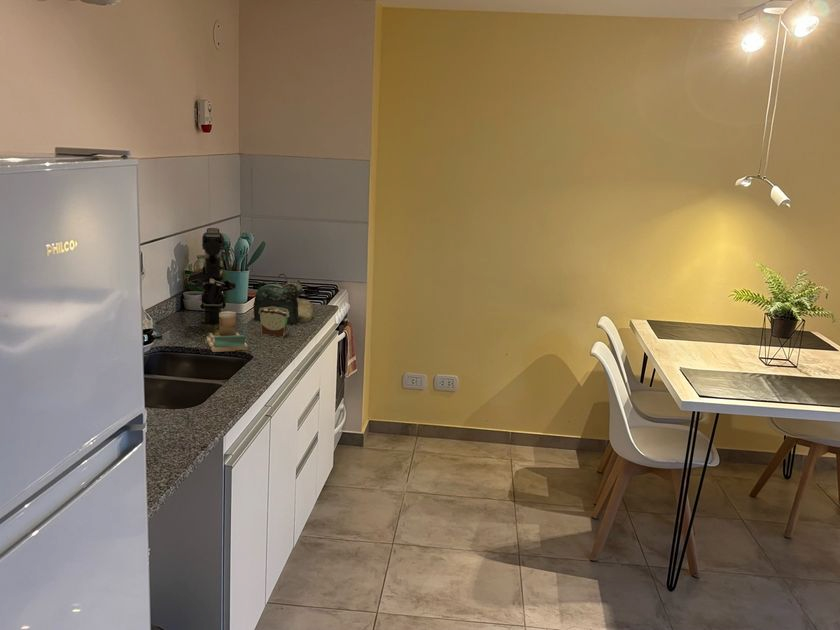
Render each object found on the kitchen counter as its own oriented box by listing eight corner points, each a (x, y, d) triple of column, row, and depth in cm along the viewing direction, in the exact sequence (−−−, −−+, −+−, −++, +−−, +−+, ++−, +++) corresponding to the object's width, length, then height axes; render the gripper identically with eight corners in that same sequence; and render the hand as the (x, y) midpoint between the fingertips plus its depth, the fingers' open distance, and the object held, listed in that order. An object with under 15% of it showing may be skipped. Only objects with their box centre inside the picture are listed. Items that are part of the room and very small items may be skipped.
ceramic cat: (302, 323, 314) (303, 274, 309) (296, 326, 307) (297, 277, 303) (257, 317, 318) (258, 270, 314) (250, 321, 312) (251, 272, 308)
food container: (294, 334, 294) (295, 309, 292) (287, 338, 289) (287, 312, 286) (266, 330, 298) (266, 305, 296) (258, 333, 292) (258, 308, 290)
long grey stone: (290, 326, 314) (315, 327, 316) (291, 313, 313) (316, 315, 315) (289, 303, 347) (311, 305, 349) (290, 292, 346) (312, 293, 348)
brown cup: (217, 340, 273) (217, 311, 271) (234, 339, 276) (235, 311, 274) (220, 344, 268) (220, 315, 266) (237, 343, 270) (237, 314, 268)
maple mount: (206, 340, 279) (206, 326, 278) (240, 338, 284) (240, 325, 283) (212, 351, 265) (212, 337, 264) (247, 350, 269) (247, 336, 268)
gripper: (215, 274, 302) (215, 312, 298) (178, 263, 286) (178, 303, 282) (236, 268, 297) (236, 307, 293) (200, 256, 281) (199, 297, 277)
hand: (212, 304), depth 286 cm, fingers closed
